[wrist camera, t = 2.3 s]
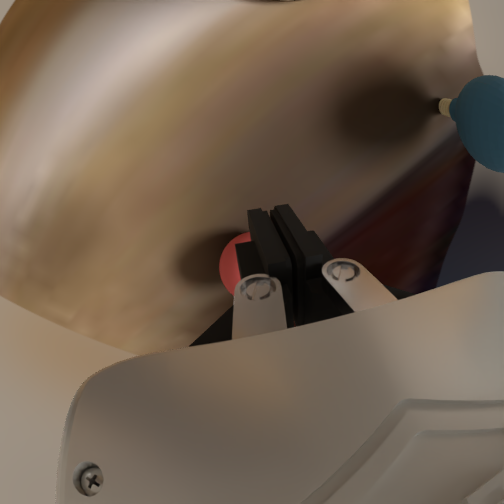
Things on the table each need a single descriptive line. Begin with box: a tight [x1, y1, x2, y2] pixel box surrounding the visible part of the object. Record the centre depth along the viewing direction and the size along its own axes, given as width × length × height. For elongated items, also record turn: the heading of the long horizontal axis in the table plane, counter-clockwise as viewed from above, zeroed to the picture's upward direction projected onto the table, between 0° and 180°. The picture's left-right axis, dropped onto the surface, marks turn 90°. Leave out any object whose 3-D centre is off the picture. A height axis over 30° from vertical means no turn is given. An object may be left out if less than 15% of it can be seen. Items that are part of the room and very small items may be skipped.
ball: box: [219, 232, 251, 295], centre depth 25 cm, size 6×6×6 cm
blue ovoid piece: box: [439, 75, 504, 173], centre depth 17 cm, size 8×8×12 cm
